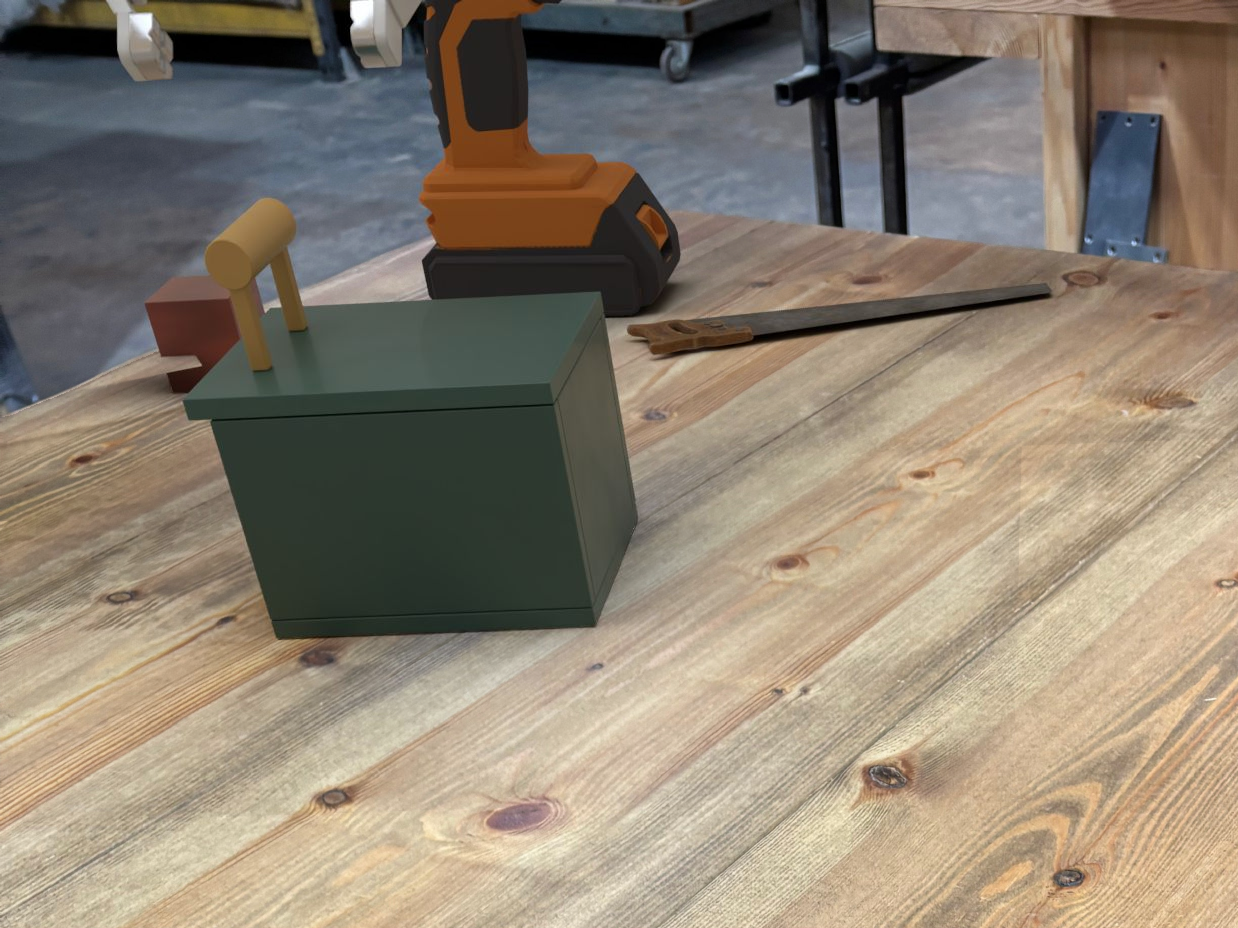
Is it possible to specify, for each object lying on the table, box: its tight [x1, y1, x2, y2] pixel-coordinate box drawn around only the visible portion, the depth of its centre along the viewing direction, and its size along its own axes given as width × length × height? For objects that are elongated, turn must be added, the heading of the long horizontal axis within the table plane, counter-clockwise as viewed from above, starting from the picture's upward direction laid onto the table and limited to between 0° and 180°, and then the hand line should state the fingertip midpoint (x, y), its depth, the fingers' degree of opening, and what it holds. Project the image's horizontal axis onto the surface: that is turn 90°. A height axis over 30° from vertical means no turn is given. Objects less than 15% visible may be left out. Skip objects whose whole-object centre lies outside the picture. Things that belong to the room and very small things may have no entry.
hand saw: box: [626, 282, 1053, 356], centre depth 110 cm, size 24×5×1 cm, turn 108°
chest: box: [209, 313, 639, 639], centre depth 82 cm, size 14×12×9 cm
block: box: [144, 274, 266, 394], centre depth 106 cm, size 5×5×5 cm
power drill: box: [418, 0, 682, 317], centre depth 106 cm, size 22×7×25 cm, turn 85°
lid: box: [181, 197, 604, 421], centre depth 77 cm, size 14×12×6 cm
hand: (260, 64), depth 78 cm, fingers open, 8 cm apart
